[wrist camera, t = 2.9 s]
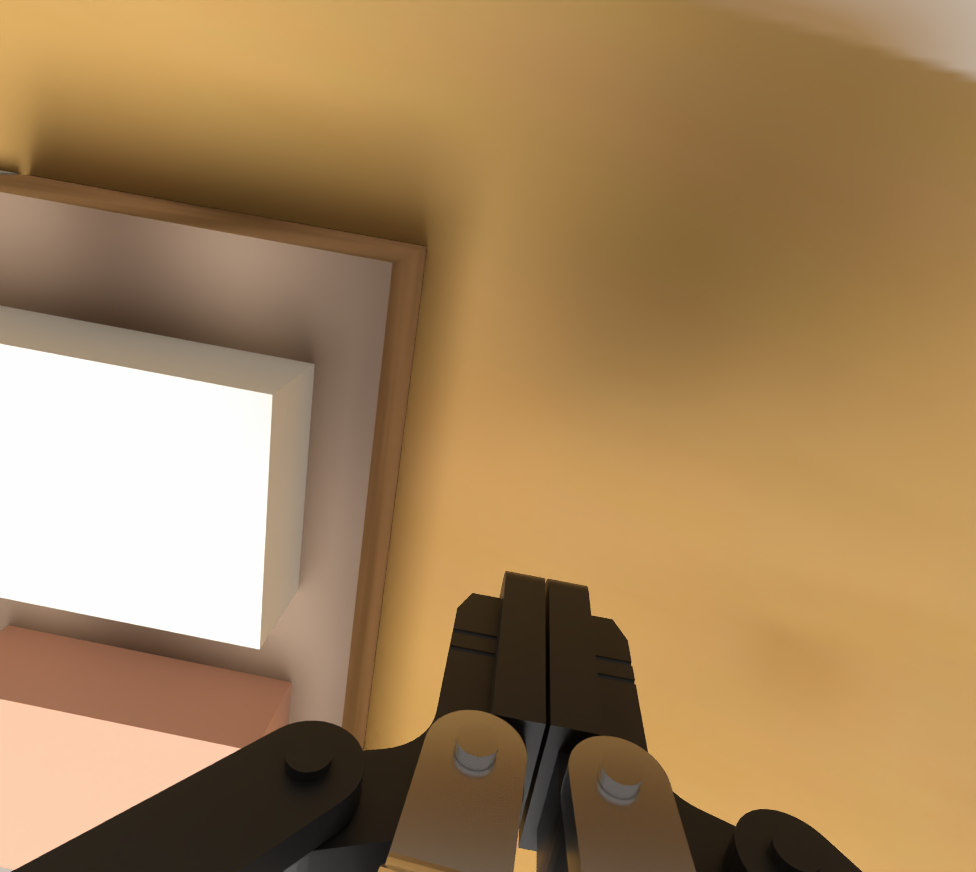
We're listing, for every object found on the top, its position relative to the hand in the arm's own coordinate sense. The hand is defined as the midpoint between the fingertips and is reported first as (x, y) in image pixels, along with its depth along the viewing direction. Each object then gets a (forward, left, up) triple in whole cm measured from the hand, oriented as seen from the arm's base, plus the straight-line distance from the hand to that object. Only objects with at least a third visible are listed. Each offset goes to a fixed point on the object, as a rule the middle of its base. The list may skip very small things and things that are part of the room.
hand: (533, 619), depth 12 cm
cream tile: (+10, 0, -4) cm, 10 cm away
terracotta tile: (+10, +9, -4) cm, 14 cm away
